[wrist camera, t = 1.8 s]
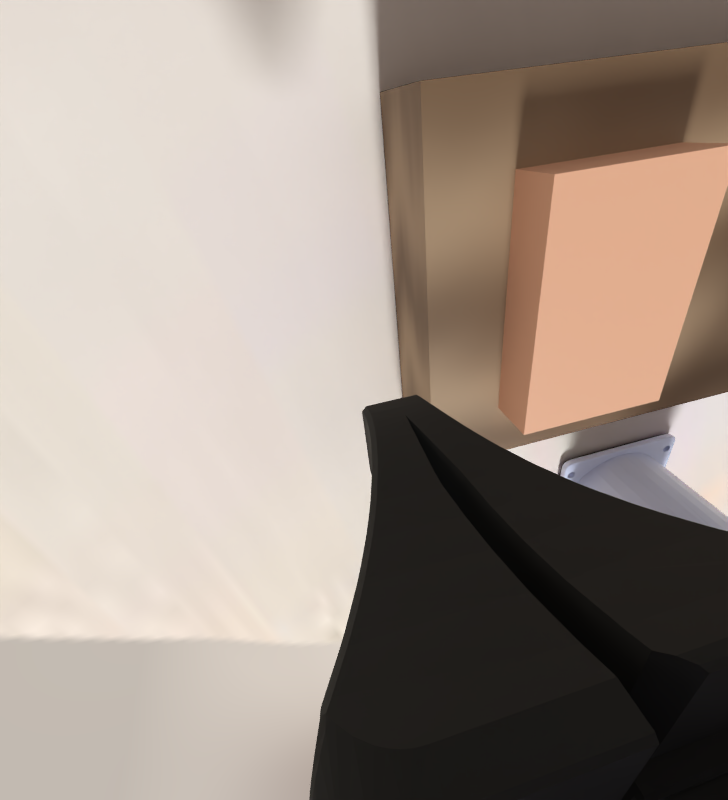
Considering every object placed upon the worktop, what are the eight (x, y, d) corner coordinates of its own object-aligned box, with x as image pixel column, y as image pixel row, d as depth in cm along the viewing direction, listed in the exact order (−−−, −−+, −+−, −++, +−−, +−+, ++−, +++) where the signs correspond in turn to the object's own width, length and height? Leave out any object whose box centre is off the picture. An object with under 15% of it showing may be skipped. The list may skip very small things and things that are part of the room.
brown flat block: (668, 355, 25) (735, 389, 21) (404, 419, 22) (433, 468, 19) (767, 42, 17) (894, 20, 14) (379, 92, 15) (420, 80, 11)
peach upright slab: (622, 377, 19) (658, 400, 17) (498, 407, 18) (523, 435, 17) (682, 142, 14) (740, 143, 12) (515, 169, 13) (554, 174, 12)
